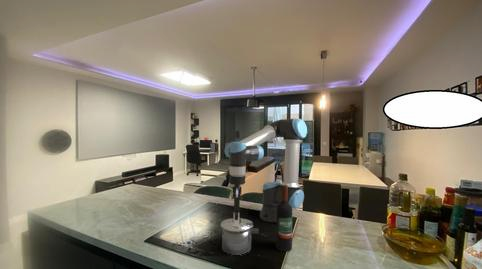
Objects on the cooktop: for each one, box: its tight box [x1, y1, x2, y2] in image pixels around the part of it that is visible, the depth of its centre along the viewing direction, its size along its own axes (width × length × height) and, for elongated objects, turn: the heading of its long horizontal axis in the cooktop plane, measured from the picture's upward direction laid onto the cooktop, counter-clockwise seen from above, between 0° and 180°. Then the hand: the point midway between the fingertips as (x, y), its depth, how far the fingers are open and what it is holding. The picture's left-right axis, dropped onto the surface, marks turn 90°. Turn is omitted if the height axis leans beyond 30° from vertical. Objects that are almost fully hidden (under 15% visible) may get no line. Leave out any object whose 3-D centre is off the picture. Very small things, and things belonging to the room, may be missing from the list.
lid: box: [220, 217, 254, 232], centre depth 102 cm, size 16×16×2 cm
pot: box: [214, 227, 260, 256], centre depth 101 cm, size 14×21×10 cm, turn 91°
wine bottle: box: [275, 185, 293, 253], centre depth 102 cm, size 8×8×30 cm
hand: (236, 225), depth 97 cm, fingers closed
